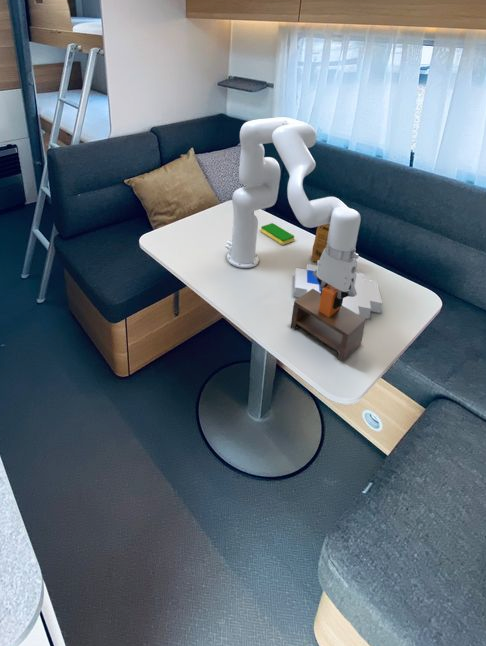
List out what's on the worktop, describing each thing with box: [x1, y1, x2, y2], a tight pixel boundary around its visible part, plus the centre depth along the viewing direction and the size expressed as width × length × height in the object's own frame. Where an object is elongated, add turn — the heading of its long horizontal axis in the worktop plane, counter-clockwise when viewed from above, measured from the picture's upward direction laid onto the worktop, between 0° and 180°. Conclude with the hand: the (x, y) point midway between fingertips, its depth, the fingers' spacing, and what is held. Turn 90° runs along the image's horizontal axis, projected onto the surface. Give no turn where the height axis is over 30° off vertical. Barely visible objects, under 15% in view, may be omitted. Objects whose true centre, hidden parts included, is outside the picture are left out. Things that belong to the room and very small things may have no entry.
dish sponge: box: [260, 222, 295, 246], centre depth 182 cm, size 7×14×2 cm, turn 32°
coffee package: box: [311, 224, 330, 263], centre depth 160 cm, size 10×12×22 cm
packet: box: [319, 285, 340, 317], centre depth 121 cm, size 4×6×8 cm, turn 130°
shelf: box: [290, 289, 367, 363], centre depth 124 cm, size 18×10×10 cm, turn 40°
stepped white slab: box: [293, 260, 383, 319], centre depth 144 cm, size 28×4×28 cm
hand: (330, 302), depth 122 cm, fingers closed on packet, 3 cm apart
